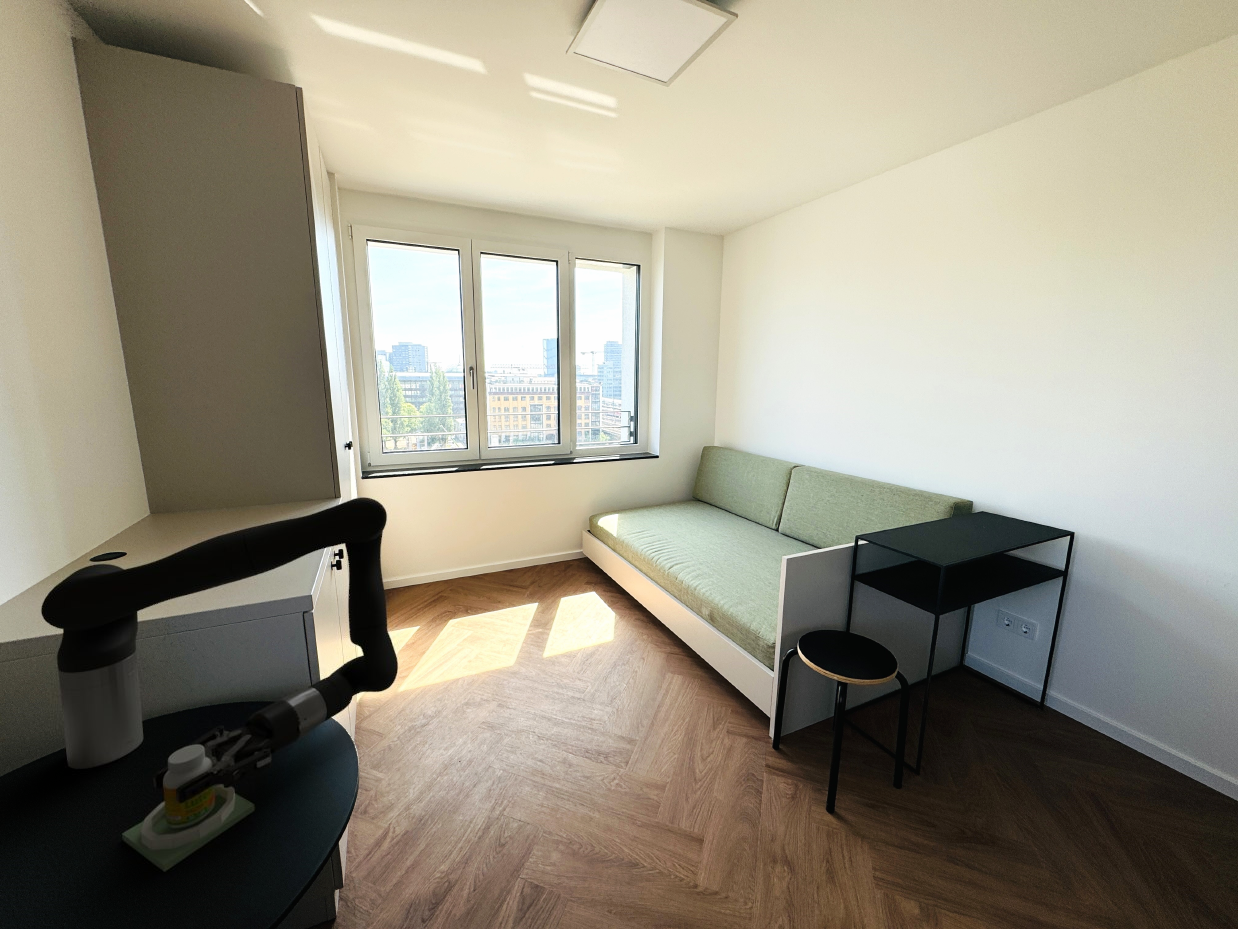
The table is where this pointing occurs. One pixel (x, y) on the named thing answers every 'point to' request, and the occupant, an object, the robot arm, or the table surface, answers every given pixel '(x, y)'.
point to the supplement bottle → (181, 771)
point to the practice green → (185, 829)
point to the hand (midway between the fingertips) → (166, 789)
